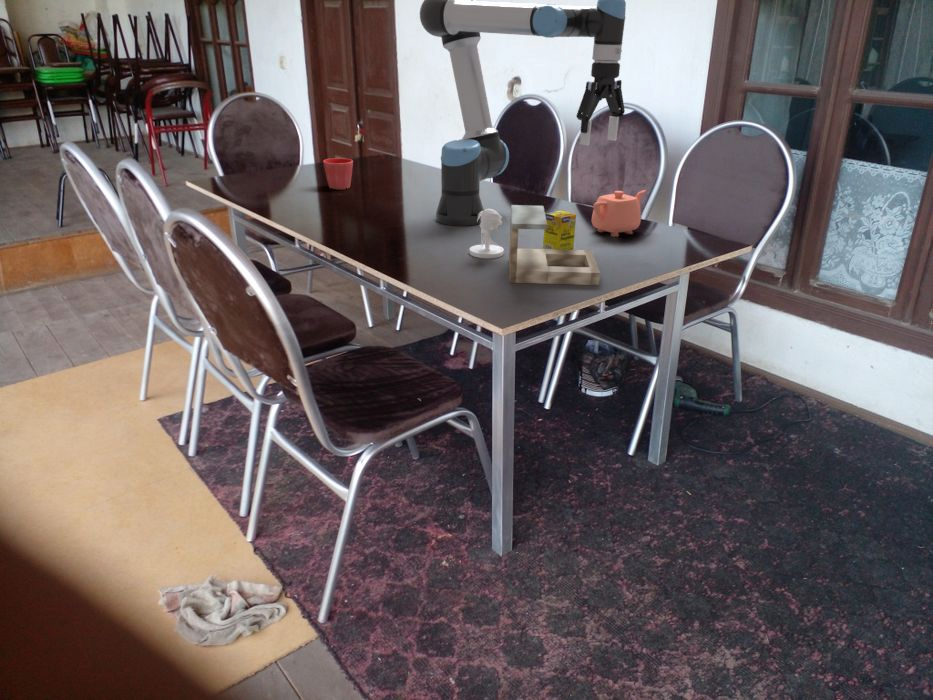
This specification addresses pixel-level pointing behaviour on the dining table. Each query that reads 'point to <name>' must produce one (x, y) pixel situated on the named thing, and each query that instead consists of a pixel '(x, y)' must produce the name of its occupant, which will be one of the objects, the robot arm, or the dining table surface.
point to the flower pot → (338, 172)
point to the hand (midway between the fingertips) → (598, 142)
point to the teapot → (617, 213)
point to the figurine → (488, 235)
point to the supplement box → (559, 230)
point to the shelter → (546, 255)
